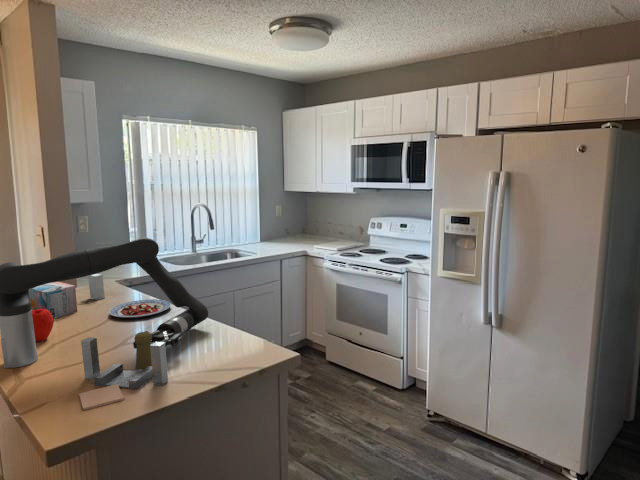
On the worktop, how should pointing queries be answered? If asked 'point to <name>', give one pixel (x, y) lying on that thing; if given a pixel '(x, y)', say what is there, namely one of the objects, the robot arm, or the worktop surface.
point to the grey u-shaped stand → (116, 371)
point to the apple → (42, 323)
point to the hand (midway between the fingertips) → (146, 346)
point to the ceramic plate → (140, 308)
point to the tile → (100, 397)
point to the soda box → (54, 298)
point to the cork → (143, 350)
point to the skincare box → (96, 286)
